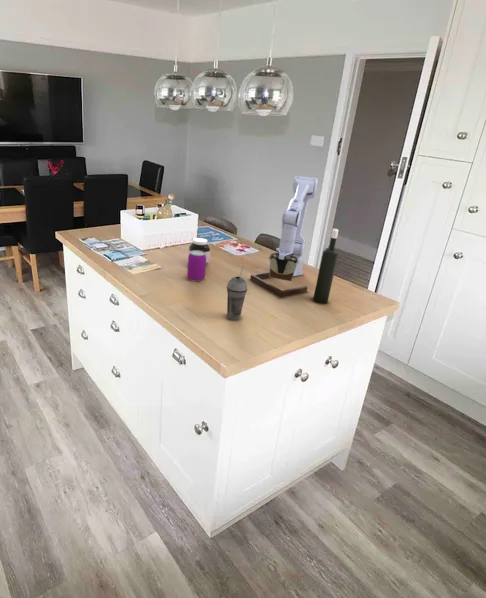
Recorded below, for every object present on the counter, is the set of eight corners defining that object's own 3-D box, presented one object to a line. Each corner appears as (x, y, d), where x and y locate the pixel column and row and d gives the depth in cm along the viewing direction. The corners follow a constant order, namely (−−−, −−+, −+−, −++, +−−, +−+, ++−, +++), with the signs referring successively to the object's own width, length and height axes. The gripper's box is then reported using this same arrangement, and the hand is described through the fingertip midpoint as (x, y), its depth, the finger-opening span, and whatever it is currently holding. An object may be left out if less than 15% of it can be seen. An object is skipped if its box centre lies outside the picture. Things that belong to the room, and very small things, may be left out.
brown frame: (275, 275, 192) (276, 270, 191) (306, 292, 177) (307, 286, 176) (250, 279, 185) (250, 274, 184) (280, 297, 170) (281, 292, 168)
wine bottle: (312, 302, 168) (327, 229, 155) (314, 296, 173) (328, 226, 160) (326, 305, 166) (343, 231, 154) (328, 299, 171) (344, 228, 158)
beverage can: (188, 274, 185) (189, 248, 180) (205, 276, 185) (207, 250, 180) (185, 281, 178) (187, 254, 173) (203, 283, 178) (205, 256, 173)
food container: (296, 277, 180) (300, 255, 175) (295, 282, 174) (299, 259, 170) (268, 272, 183) (271, 250, 179) (265, 276, 177) (269, 254, 173)
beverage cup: (222, 312, 153) (227, 261, 145) (241, 313, 154) (248, 262, 146) (224, 321, 147) (231, 268, 138) (245, 322, 147) (252, 269, 139)
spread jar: (205, 260, 205) (207, 237, 200) (213, 268, 195) (215, 244, 190) (182, 261, 201) (183, 237, 196) (189, 269, 191) (190, 245, 186)
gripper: (282, 234, 179) (277, 264, 185) (273, 242, 167) (268, 273, 173) (298, 237, 177) (293, 267, 182) (291, 245, 164) (285, 277, 170)
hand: (282, 270), depth 177 cm, fingers closed on food container, 6 cm apart
